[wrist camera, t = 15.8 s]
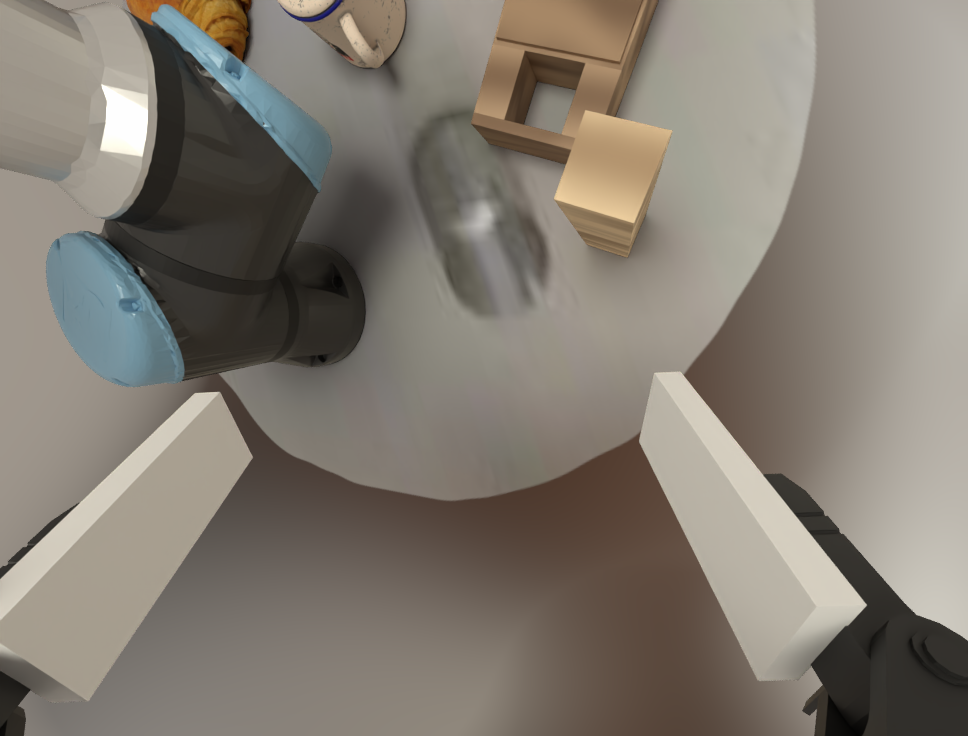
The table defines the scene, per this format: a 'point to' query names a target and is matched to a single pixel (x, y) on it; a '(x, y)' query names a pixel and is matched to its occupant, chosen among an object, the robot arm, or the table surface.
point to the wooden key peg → (611, 179)
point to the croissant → (206, 18)
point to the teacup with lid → (353, 26)
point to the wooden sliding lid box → (558, 67)
